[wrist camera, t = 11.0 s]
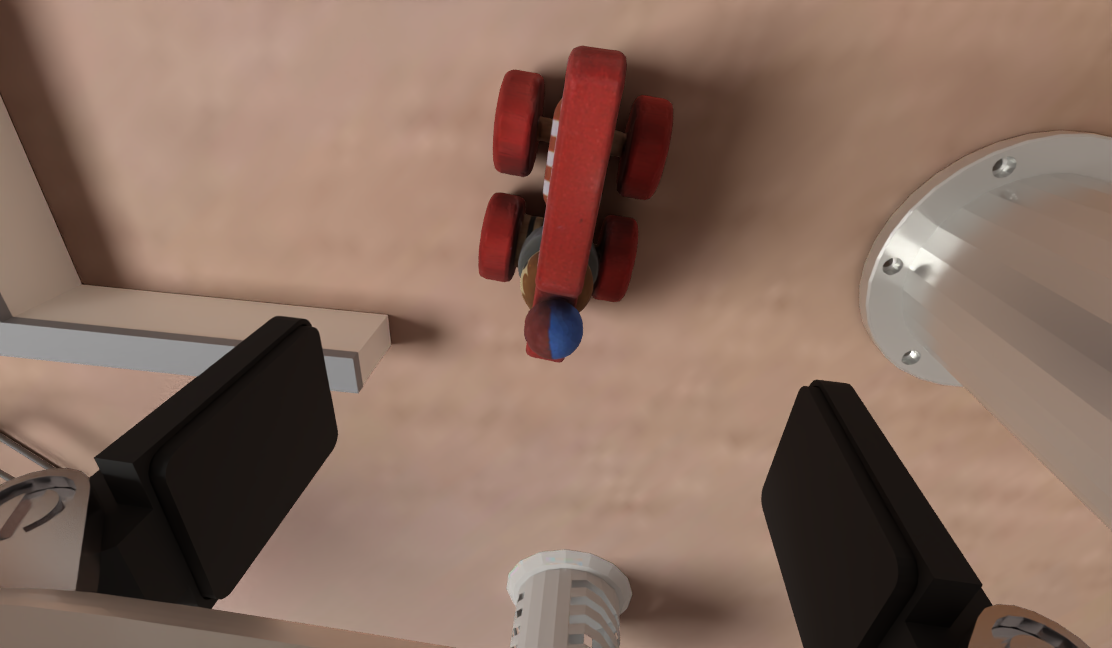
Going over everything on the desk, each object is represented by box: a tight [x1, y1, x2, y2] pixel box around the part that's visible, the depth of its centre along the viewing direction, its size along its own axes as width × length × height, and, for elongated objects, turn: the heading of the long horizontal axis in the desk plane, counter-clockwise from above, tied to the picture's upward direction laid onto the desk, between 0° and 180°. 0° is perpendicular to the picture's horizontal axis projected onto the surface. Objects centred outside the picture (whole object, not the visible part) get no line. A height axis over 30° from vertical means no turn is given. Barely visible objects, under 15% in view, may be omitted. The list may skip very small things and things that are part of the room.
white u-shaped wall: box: [0, 96, 391, 393], centre depth 23 cm, size 20×20×5 cm
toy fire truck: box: [478, 46, 673, 362], centre depth 20 cm, size 7×12×10 cm, turn 169°
